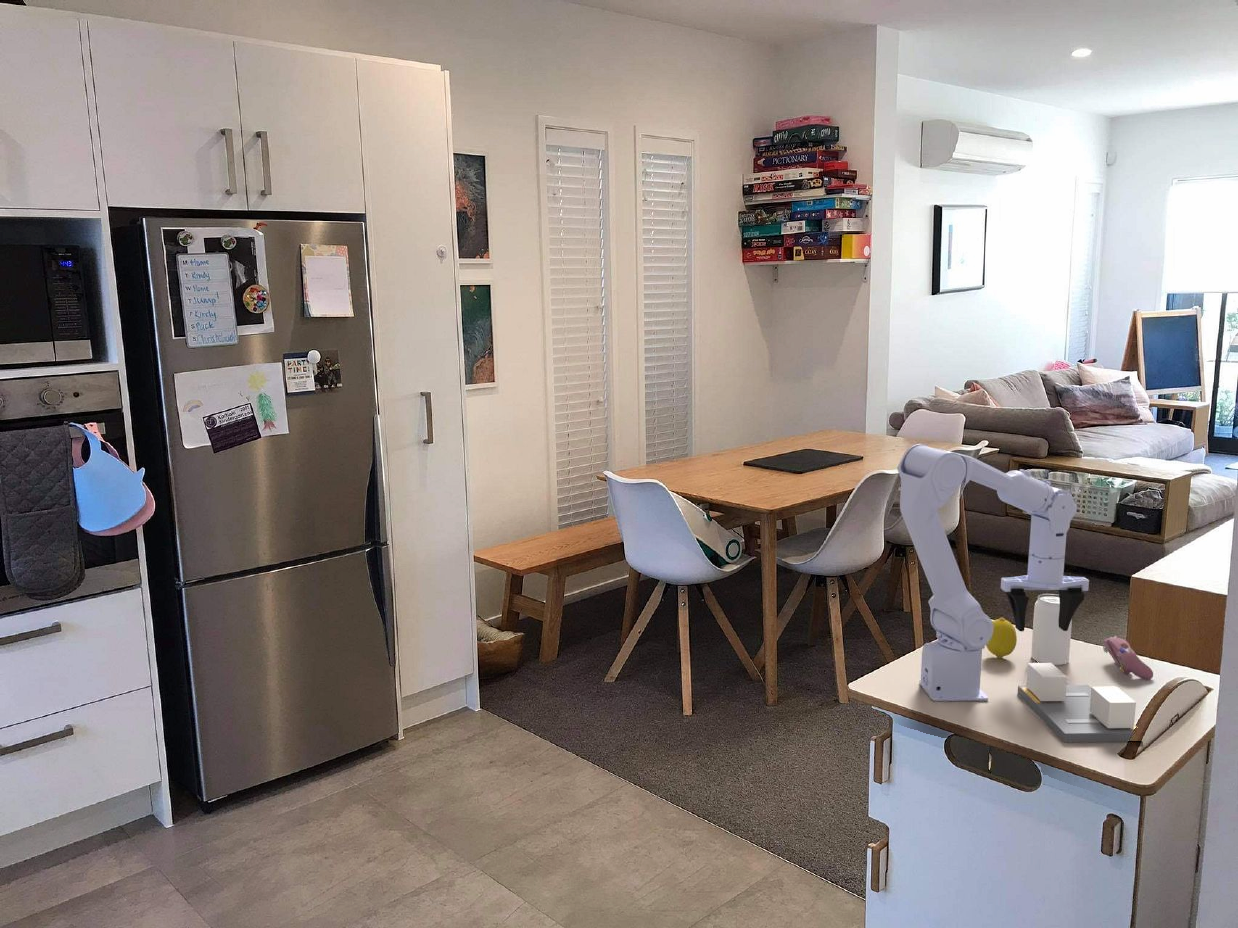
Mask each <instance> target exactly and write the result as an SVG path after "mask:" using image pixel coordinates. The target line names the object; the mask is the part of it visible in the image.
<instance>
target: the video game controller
mask: <svg viewBox="0 0 1238 928" xmlns="http://www.w3.org/2000/svg"><path fill="white" fill-rule="evenodd" d="M1102 641H1103V645H1104V646H1103V648H1102V649H1103V652H1104V653H1106V654H1109V655H1110V656H1111V658H1112V660H1113V661H1114V663H1115V664H1116V665H1117V667H1118V668H1119V669H1120V671H1122V672H1123V673H1124V674H1125V675H1128V674H1130V673H1132V674H1133V675H1134V676H1136V677H1137V678H1140V679H1142V680H1147V681H1148V680H1151V679H1153V677H1154V672H1153V669H1151V667H1150V666H1148V665H1147V664H1146V663H1145V662H1143V661H1142V660H1141V659H1140V658H1139V657H1138V655H1137V654H1136V653H1135V651H1134V650H1133V649H1132V648H1131V645H1130V643H1129V642H1128V641H1127V640H1125V639H1123V638H1120V637H1117V635H1114V637H1112V636H1110V637H1108V638H1105V639H1103V640H1102Z"/></svg>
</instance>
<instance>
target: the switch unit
mask: <svg viewBox="0 0 1238 928" xmlns="http://www.w3.org/2000/svg"><path fill="white" fill-rule="evenodd" d="M1091 687H1092V686H1090V685H1088V684H1067V687H1066V700H1065V701H1040V700H1039V699H1038V698H1037V697H1036V696H1035V695H1034V694H1033V693H1032V692H1031V691H1030V690H1029V689H1028V688H1027V687H1026V685H1017V695H1018V696H1019V697H1020V698H1021V699H1022V700H1023V701H1024V702H1025V703H1026V704H1027V706H1028V707H1029V708H1030V709H1031V710H1032V711H1033V712H1034V713H1035V714H1036V715H1037V716H1038V717H1039V718H1040V719H1041V720H1042V721H1043V722H1044V723H1045V724H1046V726H1048V728H1050V729H1051V730H1052V732H1054V733H1055V735H1056V736H1057V737H1058V738H1060V740H1061V741H1062V742H1063V743H1129V742H1128V740H1129V739H1130V737H1131V735H1132V733H1133V729H1135V728H1136V727H1137V725H1135V724H1134V728H1107V727H1106V726H1105V725H1104V724H1103V723H1102V722H1100V721H1099V720H1098V719H1097V718H1096V717H1095V716H1094V715H1093V714H1092V713H1091V712H1090V711H1089V710H1090V698H1091Z"/></svg>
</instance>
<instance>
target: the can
mask: <svg viewBox="0 0 1238 928" xmlns="http://www.w3.org/2000/svg"><path fill="white" fill-rule="evenodd" d="M1059 610H1060V602H1059V594H1055V593H1042V594H1039V595H1038V596H1037V600H1036V602H1035V603H1034V610H1033V625H1032V635H1031V636H1032V637H1031V650H1030V651H1031V652H1030V654H1031V659H1032V660H1033V661H1035V660H1036V661H1038V662H1039V663H1052V664H1053V665H1061V666H1064V665H1063V664H1065V663H1066V664H1067V663H1068V662H1069V661H1070V650H1071V649H1070V648H1071V637H1072V624H1073V618H1072V619H1071V622H1070V625H1069V627H1068V631H1063V630H1062V629H1061V628H1059V622H1058V621H1059ZM1036 661H1035V662H1036ZM1038 662H1037V663H1038ZM1066 664H1065V665H1066Z"/></svg>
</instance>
